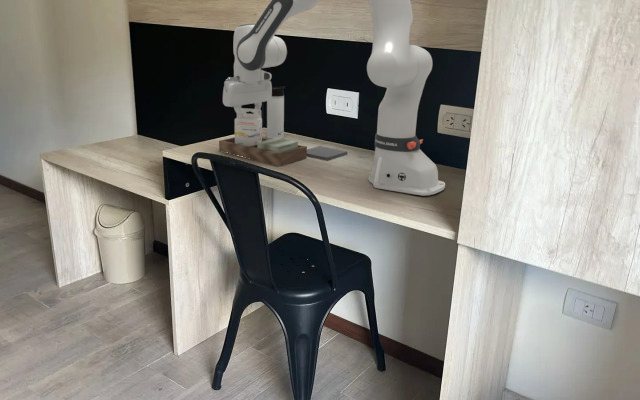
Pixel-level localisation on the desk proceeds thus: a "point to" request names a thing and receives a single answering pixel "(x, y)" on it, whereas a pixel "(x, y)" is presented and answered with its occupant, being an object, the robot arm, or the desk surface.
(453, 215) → the desk surface
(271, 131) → the travel mug
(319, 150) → the mat
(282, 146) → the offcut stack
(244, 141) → the ink cartridge box
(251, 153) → the wooden tray
